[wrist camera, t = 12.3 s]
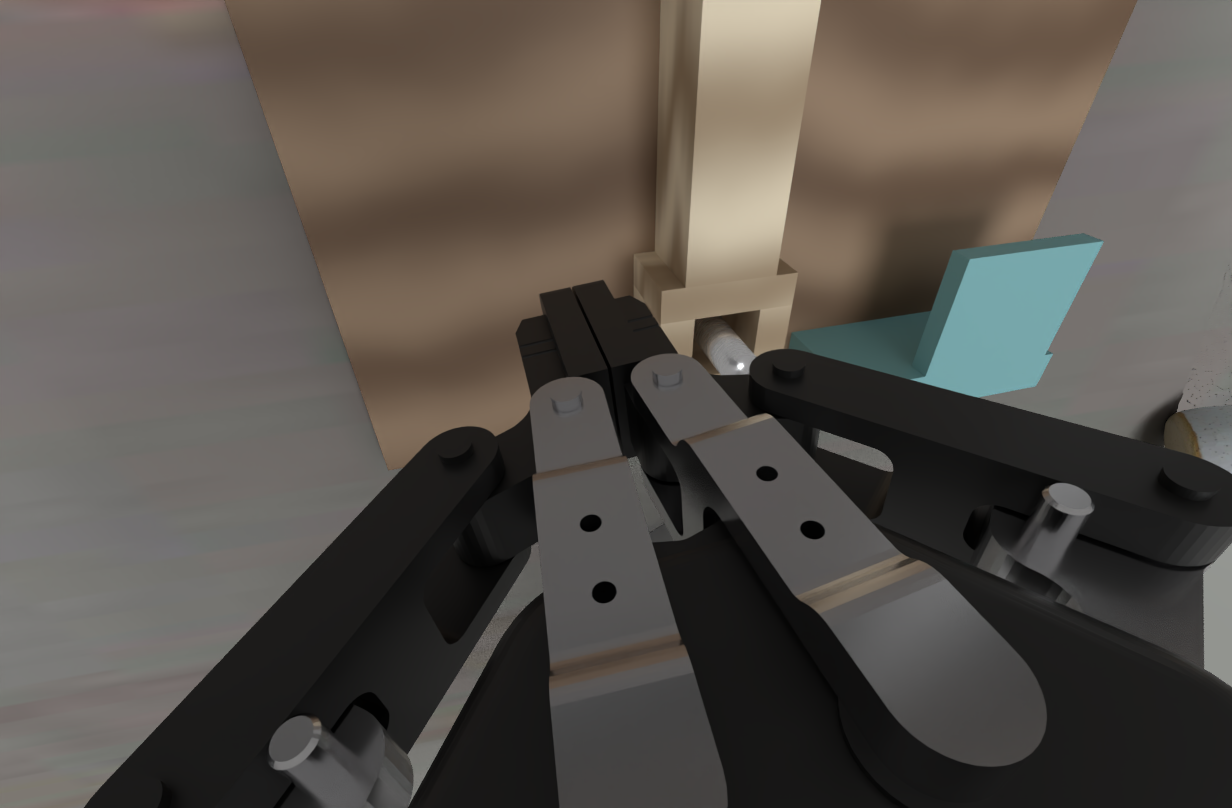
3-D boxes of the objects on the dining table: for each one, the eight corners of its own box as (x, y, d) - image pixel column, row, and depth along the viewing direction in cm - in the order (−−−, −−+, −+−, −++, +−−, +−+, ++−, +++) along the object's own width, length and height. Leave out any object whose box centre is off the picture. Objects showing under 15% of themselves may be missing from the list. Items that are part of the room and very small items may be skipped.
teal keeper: (958, 334, 34) (1035, 386, 30) (785, 363, 32) (841, 423, 27) (1011, 202, 29) (1112, 239, 25) (812, 224, 27) (886, 270, 23)
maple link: (740, 347, 30) (776, 389, 27) (633, 365, 29) (657, 410, 26) (803, -119, 19) (875, -139, 16) (633, -122, 18) (676, -143, 15)
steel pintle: (704, 318, 29) (757, 383, 24) (674, 323, 28) (722, 389, 24) (706, 289, 28) (762, 351, 23) (675, 293, 27) (726, 357, 23)
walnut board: (963, 355, 37) (977, 365, 36) (389, 455, 30) (388, 470, 29) (1198, -208, 22) (1232, -217, 21) (141, -277, 15) (122, -295, 14)
